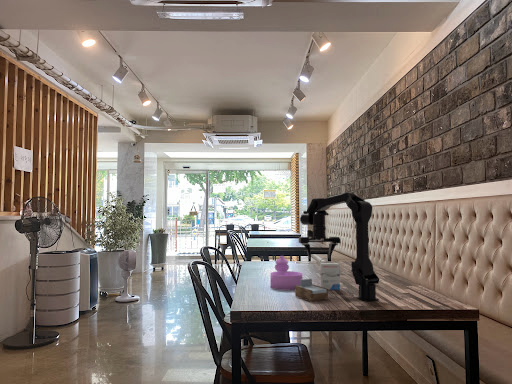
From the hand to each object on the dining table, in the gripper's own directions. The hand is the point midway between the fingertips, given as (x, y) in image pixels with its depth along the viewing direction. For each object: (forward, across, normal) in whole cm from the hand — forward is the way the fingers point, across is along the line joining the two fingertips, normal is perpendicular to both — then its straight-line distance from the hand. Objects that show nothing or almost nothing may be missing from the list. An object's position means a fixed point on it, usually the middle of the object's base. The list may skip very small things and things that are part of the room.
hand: (319, 258), depth 176 cm
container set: (+14, +15, -12) cm, 24 cm away
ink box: (+14, -5, 0) cm, 15 cm away
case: (+14, +8, +19) cm, 25 cm away
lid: (+11, +8, +20) cm, 24 cm away
